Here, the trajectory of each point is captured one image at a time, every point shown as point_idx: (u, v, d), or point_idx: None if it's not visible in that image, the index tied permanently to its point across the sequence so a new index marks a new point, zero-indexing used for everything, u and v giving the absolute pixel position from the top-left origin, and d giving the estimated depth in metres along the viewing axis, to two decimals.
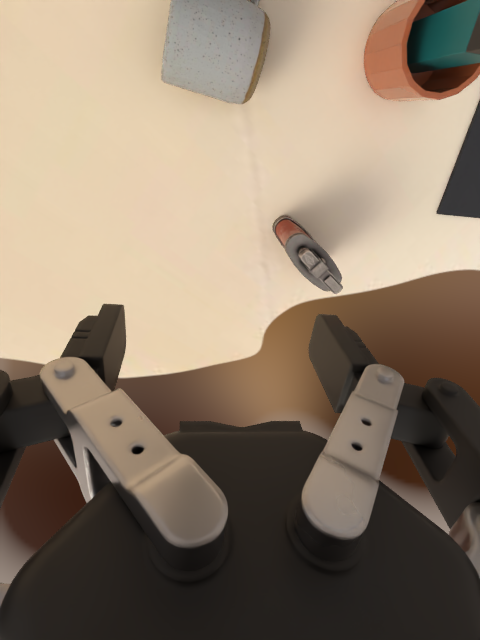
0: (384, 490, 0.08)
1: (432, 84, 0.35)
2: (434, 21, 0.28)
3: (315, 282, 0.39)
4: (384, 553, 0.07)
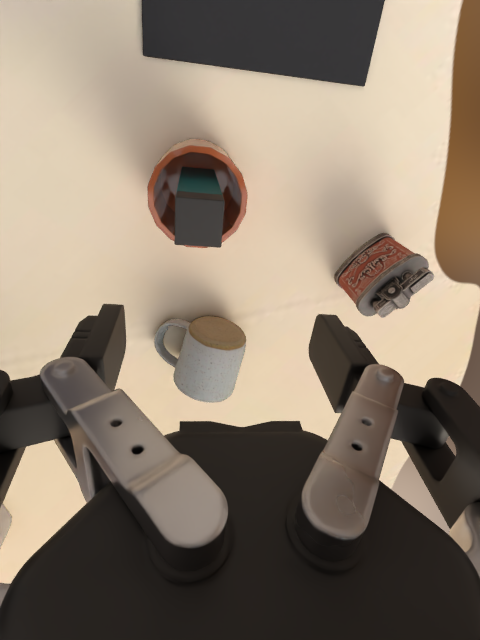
0: (384, 490, 0.08)
1: None
2: None
3: None
4: (384, 553, 0.07)
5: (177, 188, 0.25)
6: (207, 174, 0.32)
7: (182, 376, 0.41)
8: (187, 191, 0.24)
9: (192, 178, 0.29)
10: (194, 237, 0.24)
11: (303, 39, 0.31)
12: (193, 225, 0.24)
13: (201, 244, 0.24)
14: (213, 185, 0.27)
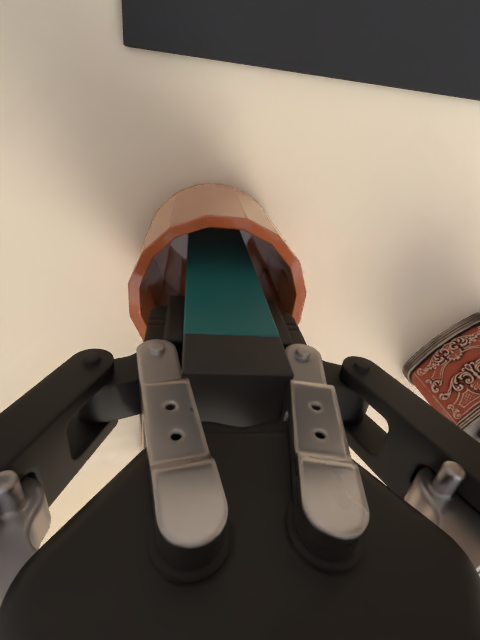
0: (384, 490, 0.08)
1: None
2: None
3: None
4: (384, 553, 0.07)
5: (185, 319, 0.12)
6: (232, 248, 0.19)
7: None
8: (206, 332, 0.11)
9: (210, 268, 0.16)
10: None
11: (403, 21, 0.18)
12: (221, 419, 0.11)
13: None
14: (252, 292, 0.14)
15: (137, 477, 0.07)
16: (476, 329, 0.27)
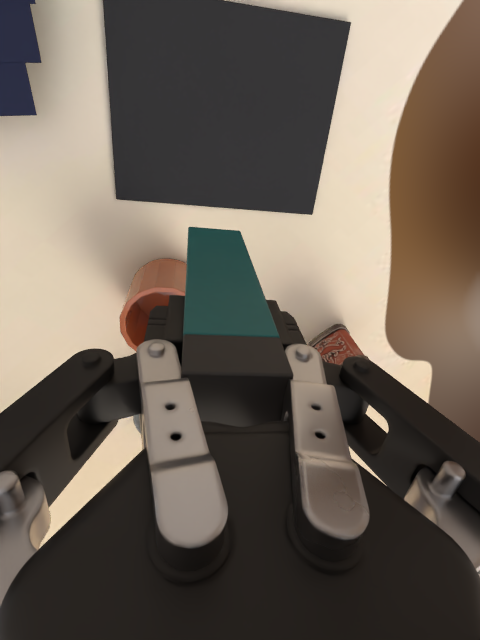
0: (384, 490, 0.08)
1: None
2: None
3: None
4: (384, 553, 0.07)
5: (184, 319, 0.12)
6: (232, 249, 0.19)
7: None
8: (206, 333, 0.11)
9: (210, 268, 0.16)
10: None
11: (256, 182, 0.35)
12: (220, 419, 0.11)
13: None
14: (252, 292, 0.14)
15: (137, 477, 0.07)
16: (333, 334, 0.45)
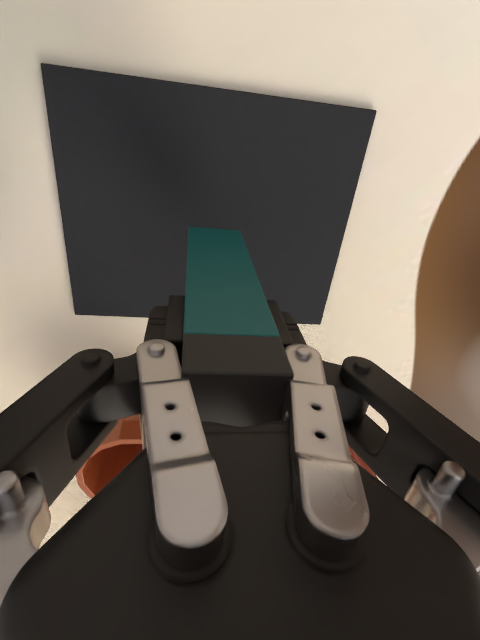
0: (384, 490, 0.08)
1: None
2: None
3: None
4: (384, 553, 0.07)
5: (185, 319, 0.12)
6: (233, 248, 0.19)
7: None
8: (207, 332, 0.11)
9: (210, 268, 0.16)
10: None
11: None
12: (221, 419, 0.11)
13: None
14: (252, 292, 0.14)
15: (137, 477, 0.07)
16: None
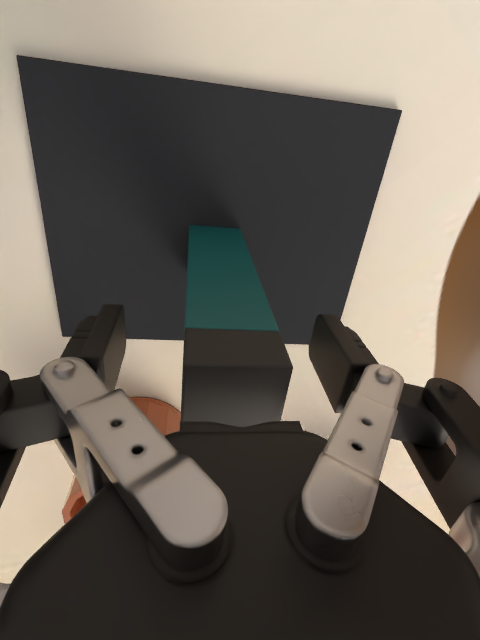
0: (384, 490, 0.08)
1: None
2: None
3: None
4: (384, 553, 0.07)
5: (186, 314, 0.12)
6: (233, 246, 0.19)
7: None
8: (207, 327, 0.12)
9: (210, 265, 0.16)
10: None
11: None
12: (221, 411, 0.11)
13: None
14: (252, 288, 0.15)
15: None
16: None
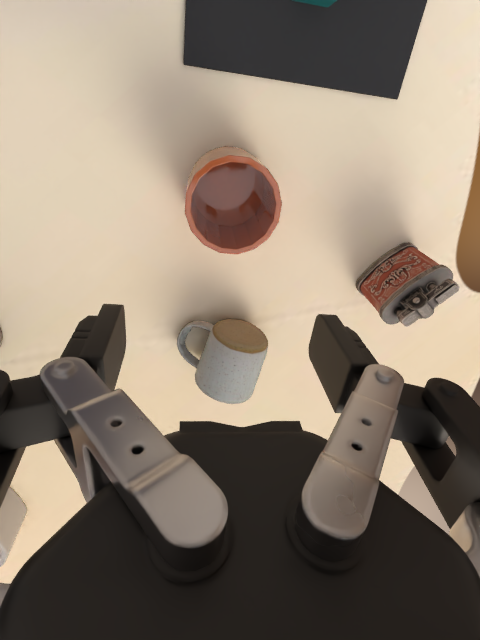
0: (384, 490, 0.08)
1: None
2: None
3: None
4: (384, 553, 0.07)
5: None
6: None
7: (204, 377, 0.42)
8: None
9: None
10: None
11: (340, 52, 0.31)
12: None
13: None
14: None
15: None
16: (402, 252, 0.41)
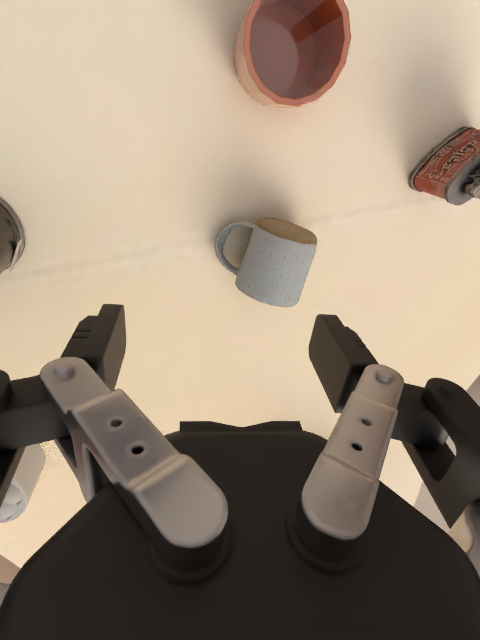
0: (384, 490, 0.08)
1: (317, 18, 0.30)
2: None
3: None
4: (384, 553, 0.07)
5: None
6: None
7: (249, 276, 0.38)
8: None
9: None
10: None
11: None
12: None
13: None
14: None
15: None
16: (461, 134, 0.37)
